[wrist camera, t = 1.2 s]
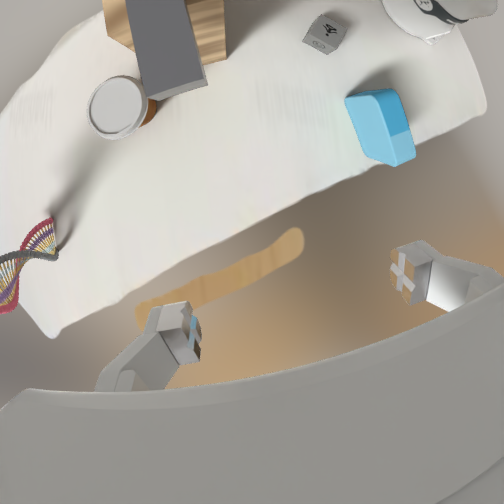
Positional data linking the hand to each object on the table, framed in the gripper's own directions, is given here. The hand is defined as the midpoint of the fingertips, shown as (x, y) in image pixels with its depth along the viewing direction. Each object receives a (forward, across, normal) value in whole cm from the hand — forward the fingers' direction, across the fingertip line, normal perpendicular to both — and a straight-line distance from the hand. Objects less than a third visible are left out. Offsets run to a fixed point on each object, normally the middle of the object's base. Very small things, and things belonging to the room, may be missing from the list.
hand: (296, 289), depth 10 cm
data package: (+40, -24, -2) cm, 46 cm away
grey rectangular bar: (+14, +4, -20) cm, 24 cm away
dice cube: (+40, -19, -20) cm, 48 cm away
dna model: (+40, +44, +3) cm, 60 cm away
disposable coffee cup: (+40, +15, -14) cm, 45 cm away
